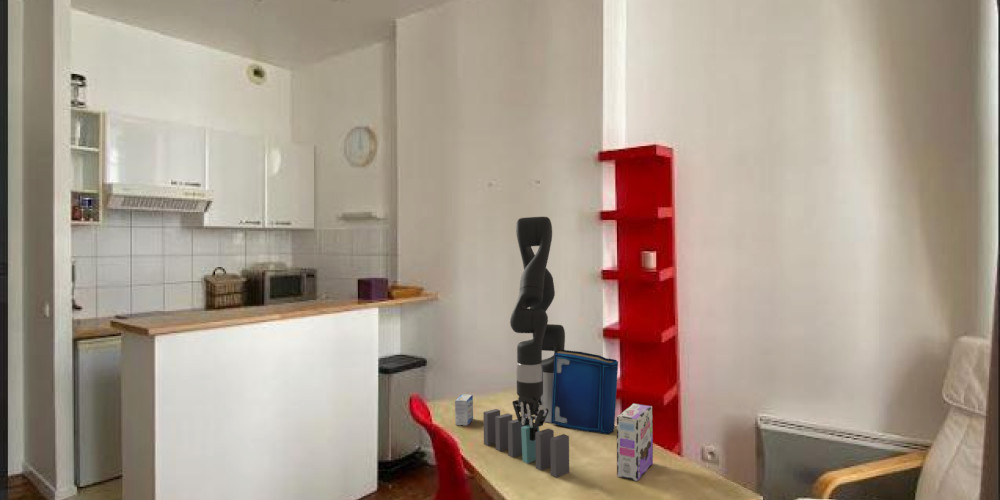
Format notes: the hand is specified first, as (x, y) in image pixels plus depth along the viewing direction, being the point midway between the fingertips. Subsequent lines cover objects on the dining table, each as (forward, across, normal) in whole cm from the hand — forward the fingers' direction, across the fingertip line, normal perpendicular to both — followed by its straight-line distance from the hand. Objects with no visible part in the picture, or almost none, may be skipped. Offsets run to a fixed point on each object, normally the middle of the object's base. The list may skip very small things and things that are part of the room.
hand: (530, 438), depth 160 cm
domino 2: (+6, +12, 0) cm, 14 cm away
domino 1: (+6, +18, 0) cm, 19 cm away
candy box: (+7, -23, -18) cm, 30 cm away
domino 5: (+6, -6, 0) cm, 9 cm away
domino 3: (+6, +6, 0) cm, 9 cm away
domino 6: (+6, -12, 0) cm, 13 cm away
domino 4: (+6, 0, 0) cm, 6 cm away
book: (+7, +10, -32) cm, 35 cm away
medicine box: (+6, +40, -5) cm, 41 cm away
